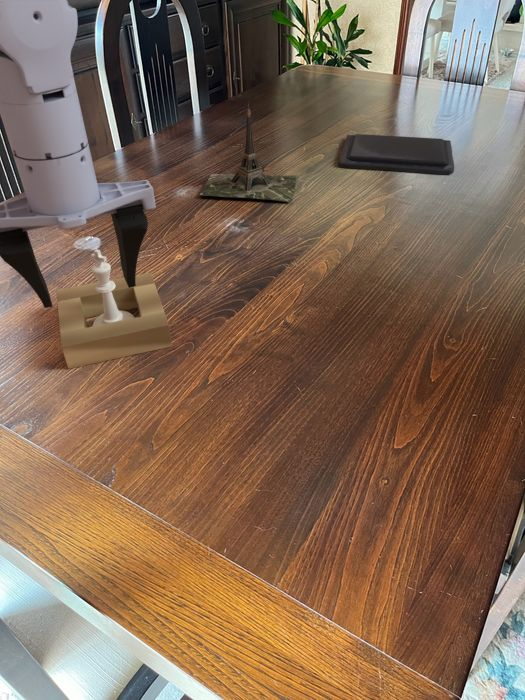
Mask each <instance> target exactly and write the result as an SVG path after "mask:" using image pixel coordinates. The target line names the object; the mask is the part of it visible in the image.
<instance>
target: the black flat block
mask: <svg viewBox="0 0 525 700" xmlns="http://www.w3.org/2000/svg"><path fill="white" fill-rule="evenodd" d="M451 142H452V141H451V140H449V139H446V140H445V139H443V138H436V137H435V138H434V137H419V136H417V137H415V136H402V135H401V136H400V135H381V134H364V133H363V134H362V133H356V134H347V135H346V137H345V139H344V141H343V144H342V147H341V150H340V153H339V156H338V160H337V166H338V167H339V168H342V169H343V168H344V169H353V170H370V171H371V170H372V171H387V172H404V173H415V174H416V173H417V174H428V175H429V174H432V175H448V176H449V175H451V174H453V173H454V172H455V162H454V157H453V149H452V148H453V147H452V143H451Z"/></svg>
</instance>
